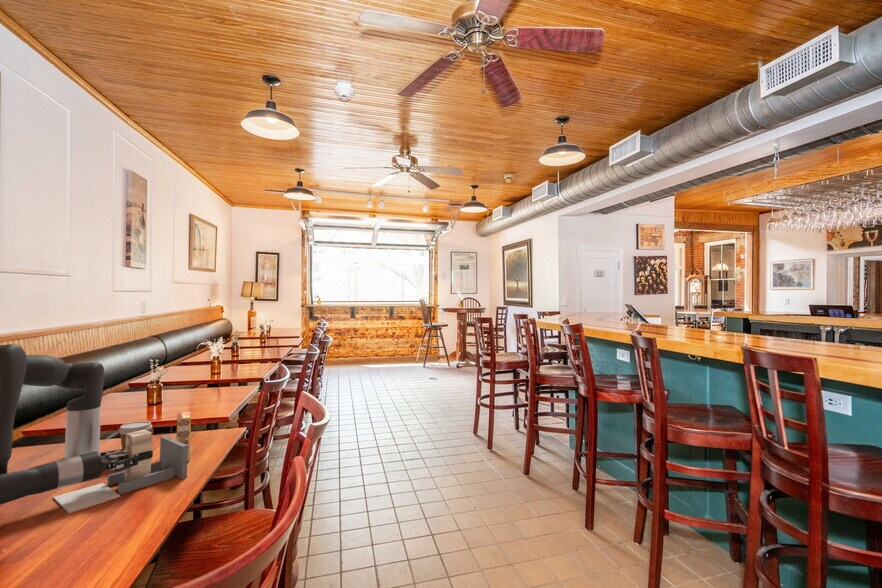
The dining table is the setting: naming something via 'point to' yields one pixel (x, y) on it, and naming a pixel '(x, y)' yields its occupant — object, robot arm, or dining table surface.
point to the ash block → (135, 445)
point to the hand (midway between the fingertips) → (148, 451)
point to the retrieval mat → (86, 497)
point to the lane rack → (157, 467)
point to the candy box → (184, 429)
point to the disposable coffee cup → (133, 429)
